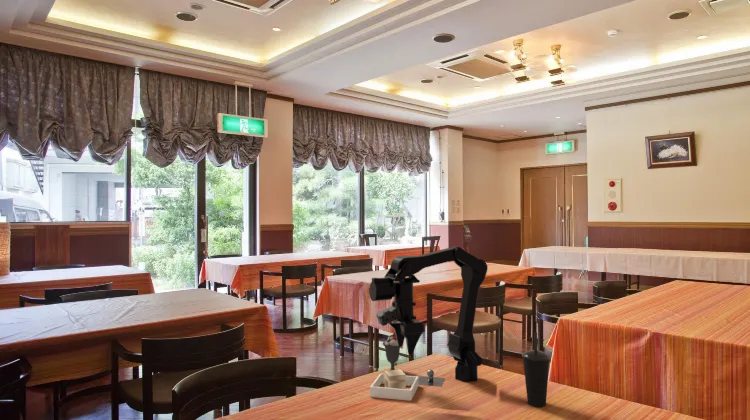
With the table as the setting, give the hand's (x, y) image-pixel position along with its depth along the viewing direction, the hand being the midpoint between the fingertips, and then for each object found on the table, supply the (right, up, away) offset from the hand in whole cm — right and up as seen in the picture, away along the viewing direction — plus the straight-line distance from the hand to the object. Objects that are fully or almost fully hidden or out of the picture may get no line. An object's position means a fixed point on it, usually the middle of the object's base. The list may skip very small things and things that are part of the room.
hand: (405, 350), depth 143 cm
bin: (-3, -13, -2) cm, 13 cm away
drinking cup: (+36, -12, -10) cm, 40 cm away
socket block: (-3, -12, -2) cm, 13 cm away
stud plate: (+8, -13, +6) cm, 16 cm away
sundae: (-3, -13, +17) cm, 22 cm away
